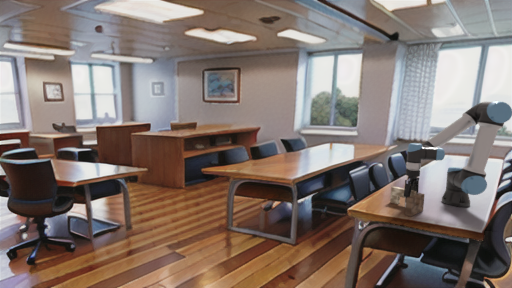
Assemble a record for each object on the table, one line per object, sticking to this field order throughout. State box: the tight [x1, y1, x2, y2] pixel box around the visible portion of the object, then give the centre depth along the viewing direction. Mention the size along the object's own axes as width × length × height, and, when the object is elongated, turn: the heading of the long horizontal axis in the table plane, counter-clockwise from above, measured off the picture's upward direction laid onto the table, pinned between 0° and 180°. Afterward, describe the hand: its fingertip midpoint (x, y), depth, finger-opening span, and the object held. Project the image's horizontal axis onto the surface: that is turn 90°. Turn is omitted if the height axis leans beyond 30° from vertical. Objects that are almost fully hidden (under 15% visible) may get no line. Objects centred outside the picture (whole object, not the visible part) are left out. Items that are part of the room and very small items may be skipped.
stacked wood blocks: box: [389, 186, 417, 205], centre depth 185 cm, size 14×3×10 cm, turn 39°
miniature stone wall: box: [405, 192, 425, 217], centre depth 171 cm, size 16×3×10 cm, turn 129°
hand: (410, 206), depth 182 cm, fingers open, 7 cm apart
